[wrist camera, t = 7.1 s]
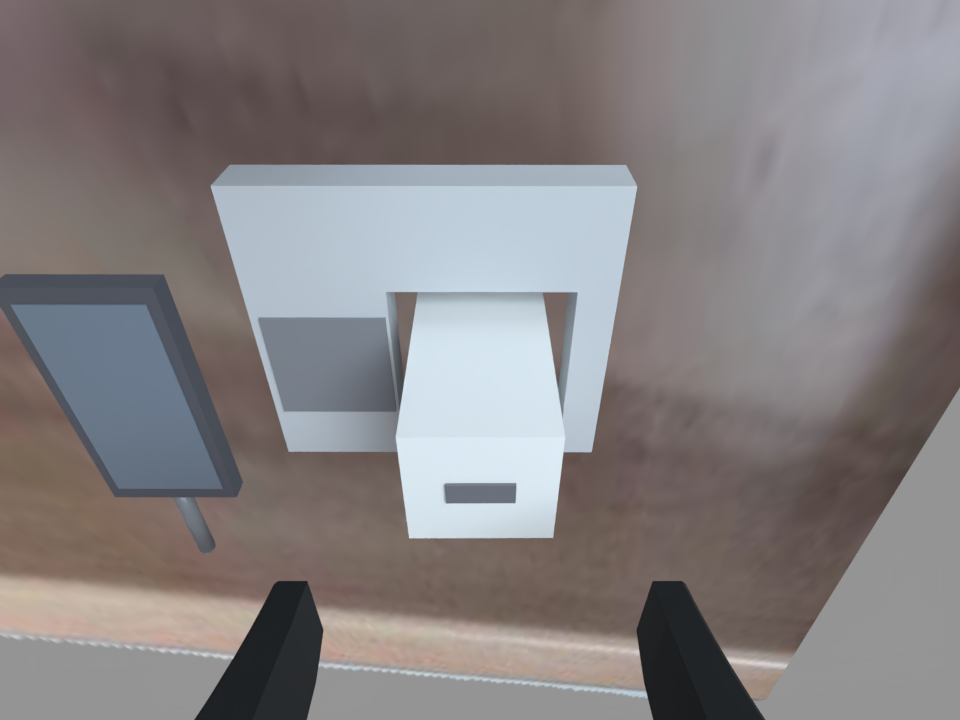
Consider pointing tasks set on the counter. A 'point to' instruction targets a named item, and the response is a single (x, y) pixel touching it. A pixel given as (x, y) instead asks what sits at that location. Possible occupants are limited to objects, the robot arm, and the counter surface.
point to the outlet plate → (414, 276)
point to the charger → (480, 418)
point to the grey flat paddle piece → (127, 384)
